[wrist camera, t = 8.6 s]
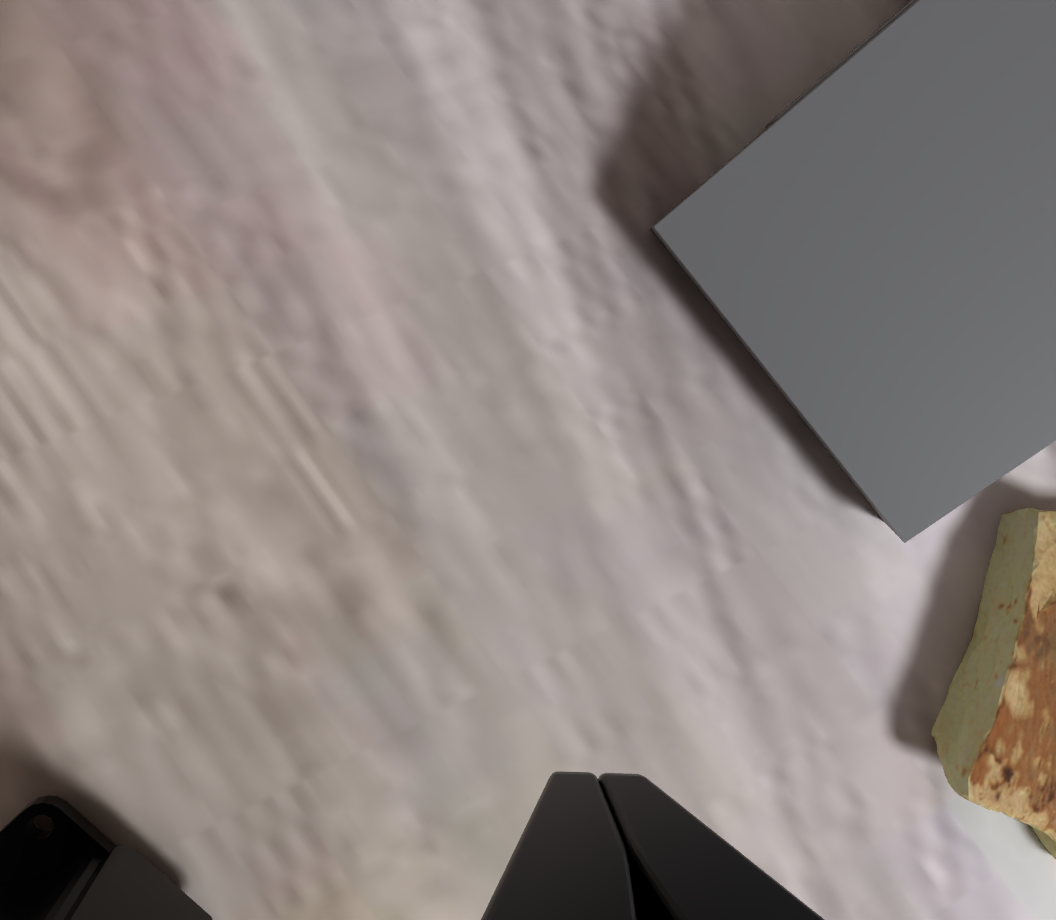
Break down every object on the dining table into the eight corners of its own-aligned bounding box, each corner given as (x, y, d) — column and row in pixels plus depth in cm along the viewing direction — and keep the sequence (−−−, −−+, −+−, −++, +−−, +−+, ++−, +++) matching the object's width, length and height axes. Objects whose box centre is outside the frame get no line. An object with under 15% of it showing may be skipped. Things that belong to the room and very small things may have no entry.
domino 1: (904, 542, 21) (1293, 278, 18) (653, 226, 19) (1040, -103, 17) (884, 522, 22) (1241, 275, 20) (650, 227, 21) (1004, -74, 19)
